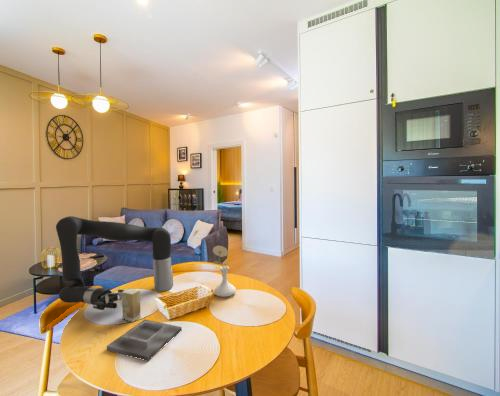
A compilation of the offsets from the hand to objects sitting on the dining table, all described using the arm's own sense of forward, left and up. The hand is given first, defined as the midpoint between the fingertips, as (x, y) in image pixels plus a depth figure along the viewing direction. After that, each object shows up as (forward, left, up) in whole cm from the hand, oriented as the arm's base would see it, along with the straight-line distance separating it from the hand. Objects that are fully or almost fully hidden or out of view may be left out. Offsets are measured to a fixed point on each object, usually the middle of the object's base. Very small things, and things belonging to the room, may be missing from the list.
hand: (124, 301), depth 110 cm
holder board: (+10, +21, -7) cm, 24 cm away
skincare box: (0, +4, -7) cm, 8 cm away
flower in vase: (-34, +31, -7) cm, 46 cm away
